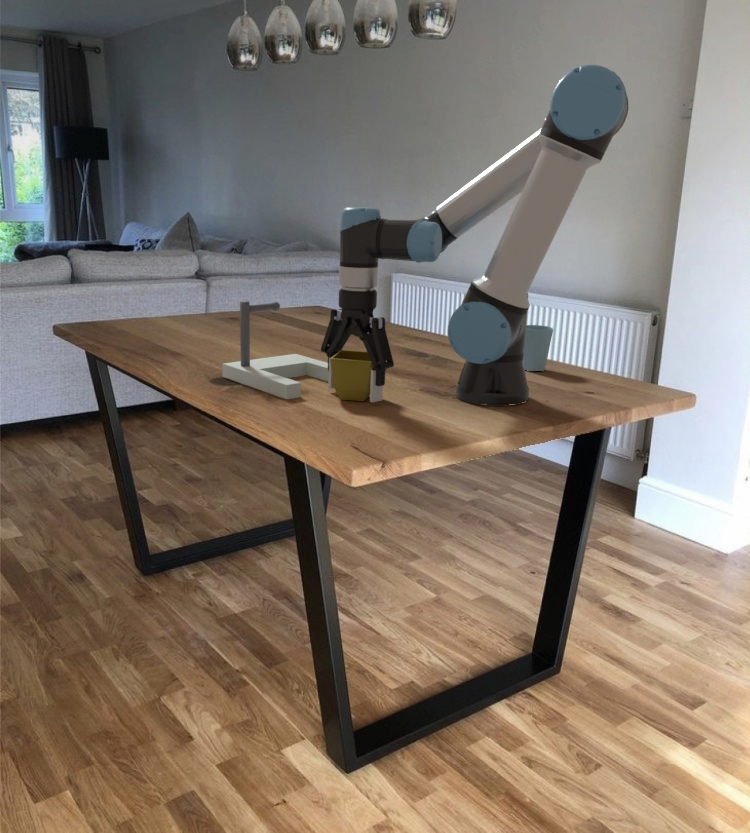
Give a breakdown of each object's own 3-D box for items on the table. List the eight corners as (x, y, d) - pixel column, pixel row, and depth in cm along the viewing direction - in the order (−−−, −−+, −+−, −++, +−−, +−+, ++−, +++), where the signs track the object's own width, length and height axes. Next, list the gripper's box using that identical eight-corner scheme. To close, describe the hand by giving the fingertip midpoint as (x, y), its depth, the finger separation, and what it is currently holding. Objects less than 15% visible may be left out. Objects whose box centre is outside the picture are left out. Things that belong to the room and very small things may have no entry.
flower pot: (371, 405, 159) (373, 360, 156) (328, 401, 160) (329, 357, 158) (380, 395, 167) (381, 352, 165) (339, 391, 169) (340, 349, 166)
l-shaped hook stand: (361, 386, 174) (364, 307, 169) (286, 399, 161) (287, 315, 156) (295, 366, 191) (296, 294, 186) (222, 376, 178) (221, 300, 173)
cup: (537, 374, 191) (541, 331, 188) (511, 369, 196) (514, 326, 193) (555, 370, 196) (559, 328, 193) (529, 365, 201) (532, 323, 198)
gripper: (415, 294, 151) (409, 404, 157) (333, 280, 169) (331, 380, 175) (386, 297, 146) (381, 410, 152) (304, 282, 164) (303, 384, 170)
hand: (354, 394), depth 163 cm, fingers open, 12 cm apart
